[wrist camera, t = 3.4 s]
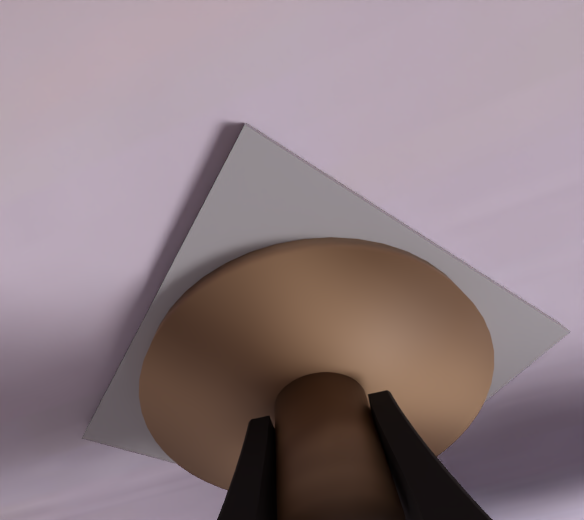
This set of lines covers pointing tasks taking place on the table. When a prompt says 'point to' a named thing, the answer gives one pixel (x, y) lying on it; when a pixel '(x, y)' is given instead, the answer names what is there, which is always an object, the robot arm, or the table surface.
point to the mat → (289, 227)
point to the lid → (315, 369)
